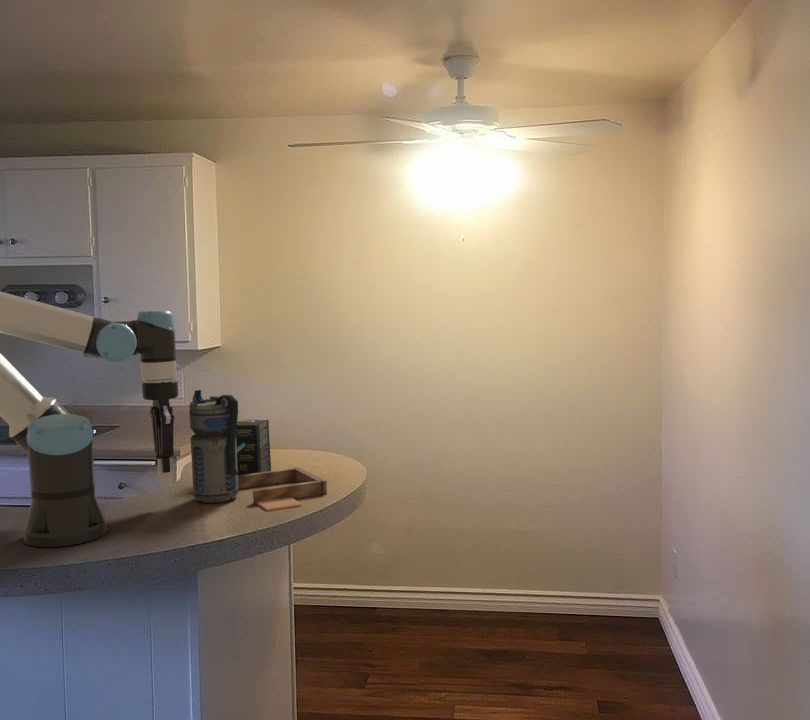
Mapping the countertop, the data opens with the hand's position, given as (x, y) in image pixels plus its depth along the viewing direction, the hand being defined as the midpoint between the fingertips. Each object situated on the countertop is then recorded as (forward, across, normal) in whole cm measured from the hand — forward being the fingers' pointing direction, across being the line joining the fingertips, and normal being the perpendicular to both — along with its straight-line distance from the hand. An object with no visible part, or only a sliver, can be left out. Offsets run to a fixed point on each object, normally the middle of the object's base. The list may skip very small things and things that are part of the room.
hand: (166, 485), depth 184 cm
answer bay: (+5, 0, -26) cm, 26 cm away
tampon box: (+5, +18, -24) cm, 30 cm away
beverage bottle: (+5, 0, -12) cm, 13 cm away
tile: (+5, -12, -22) cm, 25 cm away
